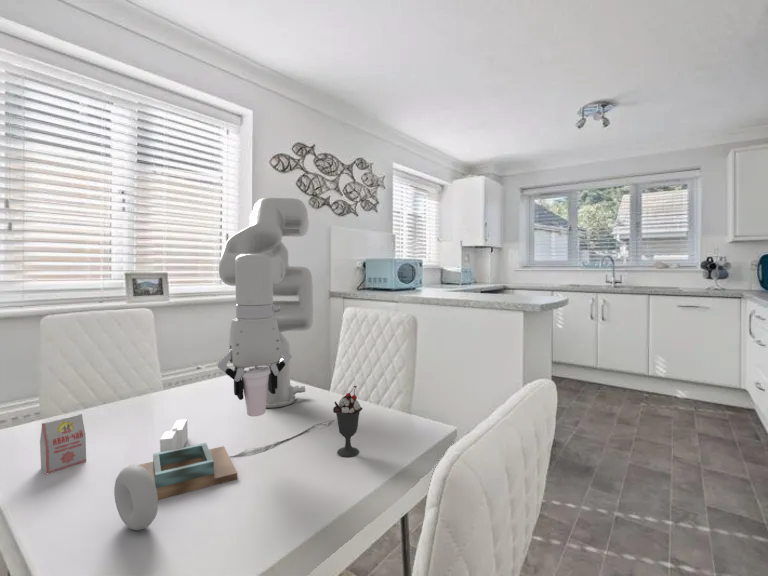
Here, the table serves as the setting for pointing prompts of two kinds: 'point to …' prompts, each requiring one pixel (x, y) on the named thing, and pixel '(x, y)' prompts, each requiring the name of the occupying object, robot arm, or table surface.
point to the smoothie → (255, 389)
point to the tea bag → (62, 443)
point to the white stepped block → (175, 436)
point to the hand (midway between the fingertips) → (256, 394)
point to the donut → (136, 497)
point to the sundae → (347, 422)
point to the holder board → (189, 469)
